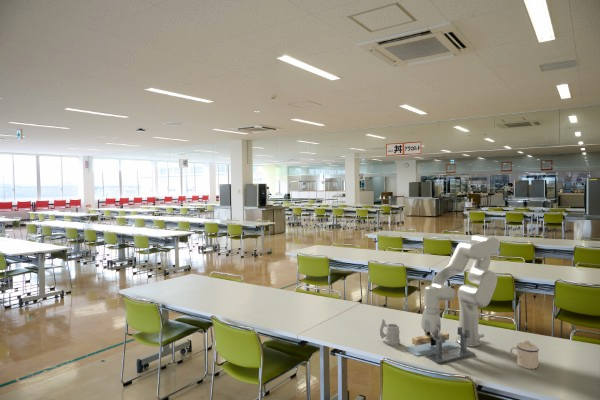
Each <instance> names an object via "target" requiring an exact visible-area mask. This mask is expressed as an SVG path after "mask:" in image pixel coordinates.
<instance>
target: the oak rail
mask: <svg viewBox="0 0 600 400" xmlns="http://www.w3.org/2000/svg"><path fill="white" fill-rule="evenodd" d="M440 333H441V335H445V340H447V341H449V340H450V334H449V333H448V332H445V331H443V332H440ZM438 337H439V338H440V336H438ZM411 338H412V339H411V342H412V343H411V344H412V345H413V346H415V345H416V346H417V345H422V344H428V343H431V338H432V333H431V334H430V335H421V336H415V337H411Z"/></svg>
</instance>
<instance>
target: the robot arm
mask: <svg viewBox="0 0 600 400" xmlns="http://www.w3.org/2000/svg"><path fill="white" fill-rule="evenodd" d="M500 246H501V241H500V240H499V239H498V238H497V237H495V236H491V235H484V234H473V235H471V237H470V240H469V241H461V242H459V243H458V244H456V247H455V249H454V251H453V253H452V256H451V257H450V259H449V262H448V264H447V265H446V266H444V267H443V268H442V269H440V270H439V271H438V272H437V273H436V274H435V276H434V277H433V280H432V282H431V284H430V285H427V286H425V287H424V298H423V299H424V301H423V303H424V304H423V308H424V309H423V311H422V314H421V329H423V331H424V336H426V335H431V334H432V338H431V346H435V345H436V340H434V339H433V332H435V331H437V332H438V336H440V335H441V333H442V332H441V329H442V327H441V326H442V324H441V323H442V322H441V316H440V315H441V314H440V301H444V302H447V301H448V302H449V301H452V300H454V299H455V298H456V291H455V289H454V288H453V287H450V286H449V285H445V283H446V282H447V280H449V278H451V277H453V276H457V275H461V274H463V273H464V271H465V269H466V268H467V266H468V263H469V261H470V259H471V260H472V262H471V264H470V268H469V270H468V272H467V277H466V278H467V281H469V282H470V283H472V284H474V285H476V286H474V285H471V284H462V285H460V287H459V288H457V289H458V290H457V297H458V304H459V305H458V306H459V315H458V316H459V318H458V319H459V321H458V323H459V325H458V327H462V333H465V330H469V331H470V338H467V339H466V347H470V348H471V347H473V348H475V347H480V346H482V341H481V340H480V339H482V338H484V337H485V334H484V333H479V308H486V307H487V306H488V305H489V304H490V302H491V300H492V297H493V294H494V293H495V289H496V287H497V283H498V277H497V274H496V272H495V271H493V270H490V269H489V268H490V265H491V262H492V261H491V259H492V258H491V255H493V254H495V253H497V252H498V251H499V250H500ZM477 286H478V287H477ZM460 337H461V335H458V336H457V337H456V338H455V340H456V342H457V343H458V344H459V345H460Z"/></svg>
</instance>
